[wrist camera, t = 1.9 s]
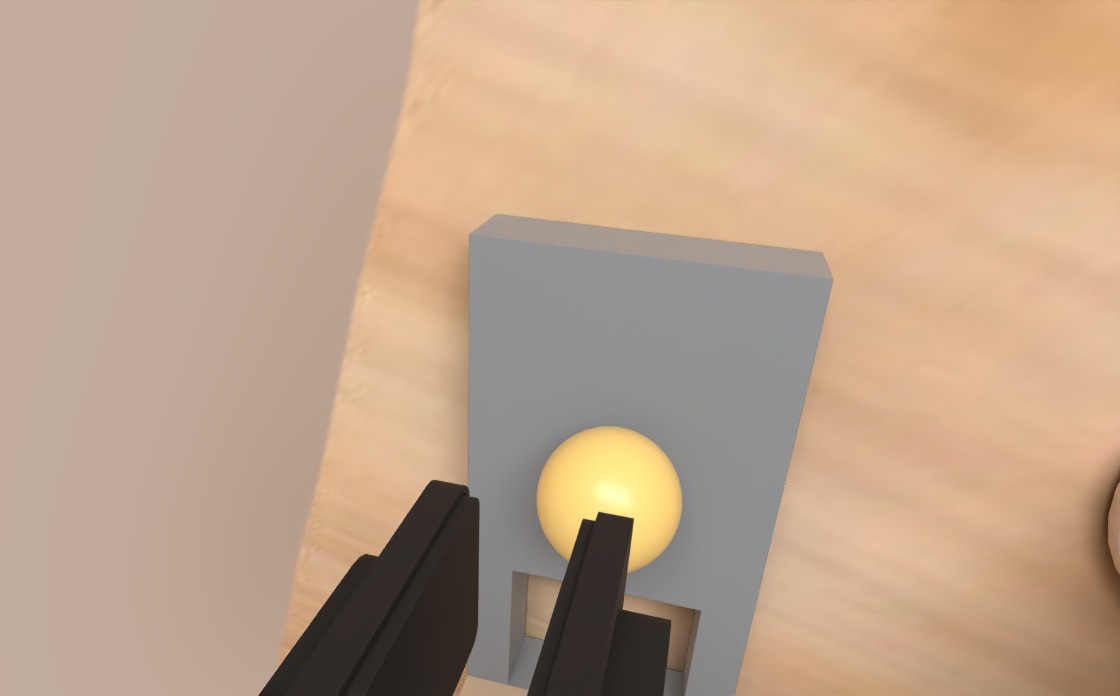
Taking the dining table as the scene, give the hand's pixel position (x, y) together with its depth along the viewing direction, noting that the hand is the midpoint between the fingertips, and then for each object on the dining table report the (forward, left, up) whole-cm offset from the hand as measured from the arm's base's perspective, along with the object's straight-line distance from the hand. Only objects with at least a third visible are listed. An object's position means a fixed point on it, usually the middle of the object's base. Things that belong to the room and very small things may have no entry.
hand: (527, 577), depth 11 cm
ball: (0, +7, -12) cm, 14 cm away
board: (0, +11, -17) cm, 20 cm away
